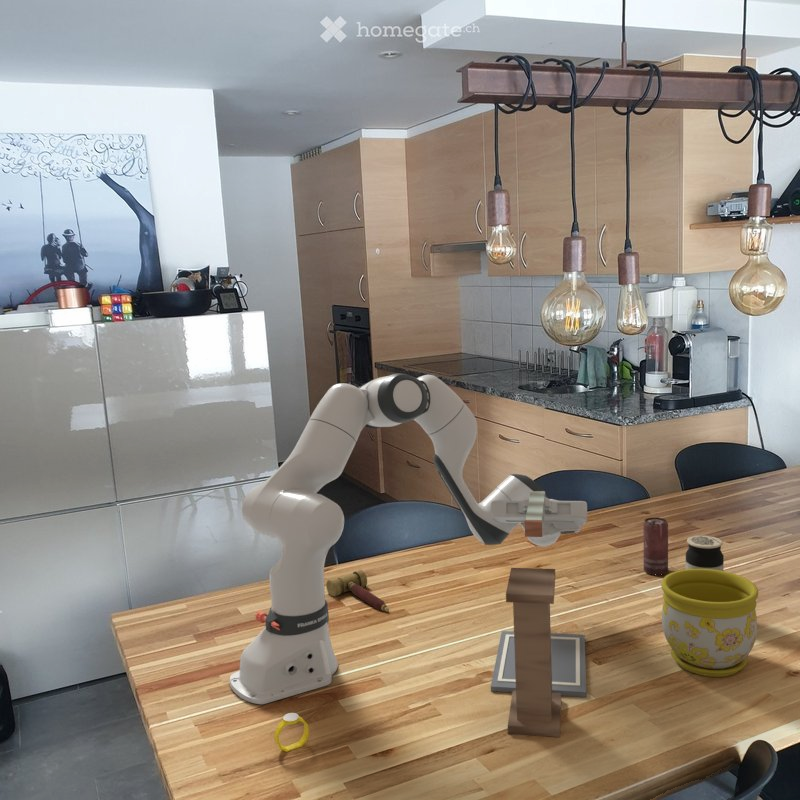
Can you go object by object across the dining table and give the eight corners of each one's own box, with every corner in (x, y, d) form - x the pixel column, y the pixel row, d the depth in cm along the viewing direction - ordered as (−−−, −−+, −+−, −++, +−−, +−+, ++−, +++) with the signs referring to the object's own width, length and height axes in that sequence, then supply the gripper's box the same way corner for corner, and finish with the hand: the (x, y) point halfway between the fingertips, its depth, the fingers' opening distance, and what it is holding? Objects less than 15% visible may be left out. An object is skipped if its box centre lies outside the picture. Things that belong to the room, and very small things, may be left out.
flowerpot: (689, 633, 174) (689, 561, 171) (772, 660, 160) (774, 583, 158) (644, 663, 162) (643, 586, 159) (730, 695, 149) (731, 612, 146)
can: (652, 577, 205) (652, 525, 202) (639, 569, 211) (638, 518, 208) (673, 574, 206) (673, 522, 204) (659, 566, 212) (659, 515, 210)
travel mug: (692, 624, 178) (692, 547, 175) (680, 609, 185) (680, 535, 182) (728, 623, 177) (729, 546, 174) (715, 608, 185) (716, 534, 182)
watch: (305, 740, 142) (304, 708, 142) (311, 747, 140) (310, 715, 139) (273, 749, 139) (272, 717, 139) (278, 757, 137) (278, 724, 136)
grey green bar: (542, 537, 149) (541, 521, 148) (524, 536, 150) (524, 521, 149) (545, 505, 168) (545, 491, 168) (530, 505, 169) (530, 491, 168)
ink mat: (501, 635, 178) (501, 630, 177) (584, 638, 174) (584, 633, 173) (490, 691, 154) (490, 685, 154) (586, 697, 151) (586, 691, 150)
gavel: (404, 595, 195) (370, 607, 189) (404, 612, 196) (370, 625, 190) (358, 567, 212) (325, 577, 206) (358, 583, 213) (326, 593, 207)
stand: (513, 697, 152) (508, 567, 148) (561, 700, 150) (558, 569, 146) (507, 733, 140) (502, 593, 136) (559, 737, 138) (556, 595, 134)
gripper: (493, 503, 179) (486, 488, 167) (586, 504, 175) (587, 488, 162) (492, 531, 177) (485, 518, 164) (587, 532, 173) (587, 519, 160)
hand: (536, 503), depth 163 cm, fingers closed on grey green bar, 3 cm apart
